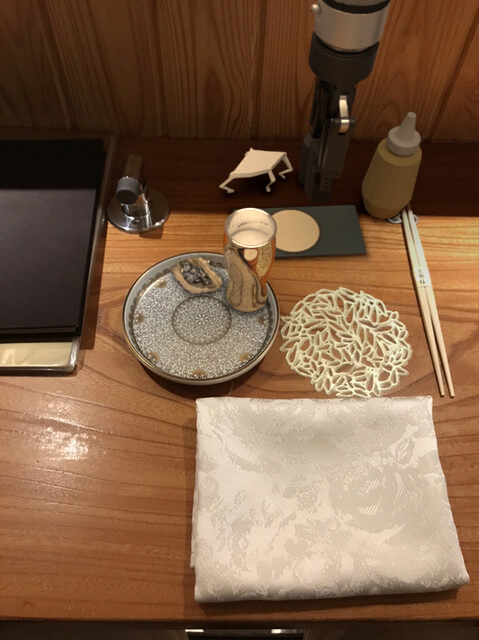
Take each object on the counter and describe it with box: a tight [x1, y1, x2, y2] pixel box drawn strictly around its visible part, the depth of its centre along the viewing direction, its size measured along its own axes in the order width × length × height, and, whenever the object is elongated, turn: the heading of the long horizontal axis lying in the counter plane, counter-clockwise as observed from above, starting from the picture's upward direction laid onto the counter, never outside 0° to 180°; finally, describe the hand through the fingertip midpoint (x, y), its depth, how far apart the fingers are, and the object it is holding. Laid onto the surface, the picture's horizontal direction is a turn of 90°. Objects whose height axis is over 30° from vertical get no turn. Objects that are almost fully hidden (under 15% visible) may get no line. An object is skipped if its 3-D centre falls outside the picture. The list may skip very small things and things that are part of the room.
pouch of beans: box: [170, 257, 223, 295], centre depth 84 cm, size 7×8×2 cm
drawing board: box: [232, 204, 367, 260], centre depth 89 cm, size 20×10×1 cm, turn 94°
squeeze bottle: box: [360, 111, 423, 220], centre depth 85 cm, size 8×8×18 cm
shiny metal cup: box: [222, 207, 277, 313], centre depth 76 cm, size 7×7×15 cm
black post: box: [297, 133, 313, 186], centre depth 92 cm, size 4×4×8 cm
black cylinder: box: [303, 137, 336, 198], centre depth 78 cm, size 4×4×8 cm
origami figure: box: [219, 147, 293, 194], centre depth 93 cm, size 12×8×5 cm
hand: (316, 188), depth 82 cm, fingers closed on black cylinder, 4 cm apart
